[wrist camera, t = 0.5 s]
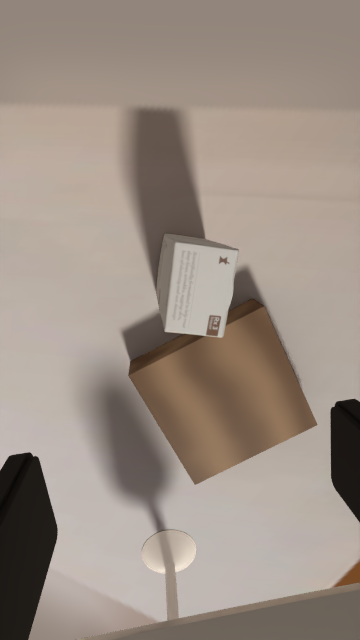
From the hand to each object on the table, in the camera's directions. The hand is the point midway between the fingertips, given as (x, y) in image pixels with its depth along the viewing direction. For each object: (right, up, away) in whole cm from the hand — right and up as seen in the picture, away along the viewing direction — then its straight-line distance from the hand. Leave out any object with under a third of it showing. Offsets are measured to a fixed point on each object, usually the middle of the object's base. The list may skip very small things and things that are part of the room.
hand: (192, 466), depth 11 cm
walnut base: (+4, -2, +26) cm, 27 cm away
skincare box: (0, +10, +23) cm, 25 cm away
